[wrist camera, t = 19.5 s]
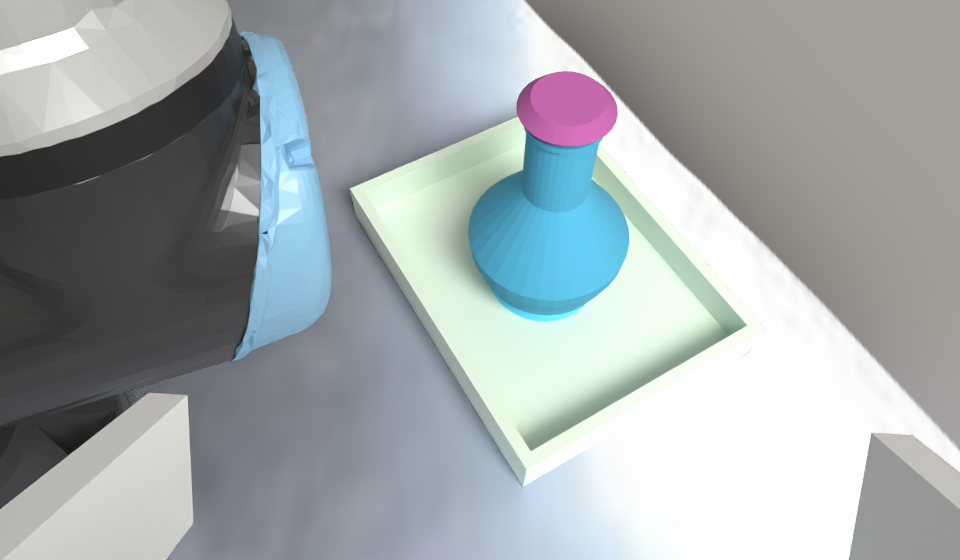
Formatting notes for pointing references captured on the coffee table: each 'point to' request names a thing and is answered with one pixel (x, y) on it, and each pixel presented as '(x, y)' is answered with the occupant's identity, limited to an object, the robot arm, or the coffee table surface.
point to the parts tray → (554, 344)
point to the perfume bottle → (552, 206)
